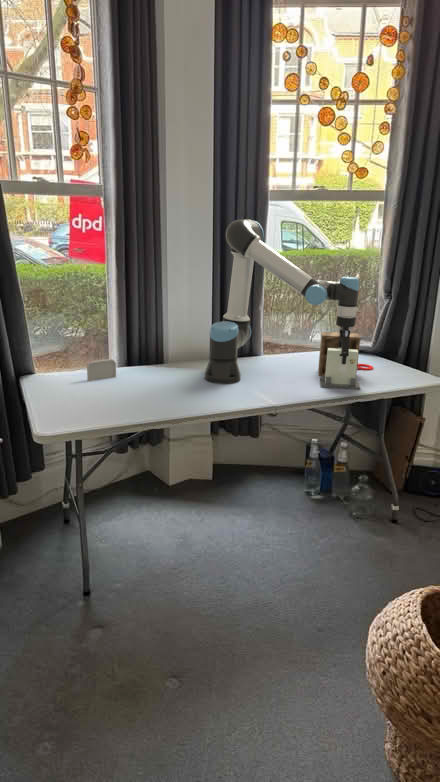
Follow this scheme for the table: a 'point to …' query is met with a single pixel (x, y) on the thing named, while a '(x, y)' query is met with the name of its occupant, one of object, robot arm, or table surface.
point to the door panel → (334, 366)
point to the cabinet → (332, 342)
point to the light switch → (101, 369)
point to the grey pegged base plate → (353, 384)
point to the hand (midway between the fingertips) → (341, 367)
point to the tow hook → (364, 365)
